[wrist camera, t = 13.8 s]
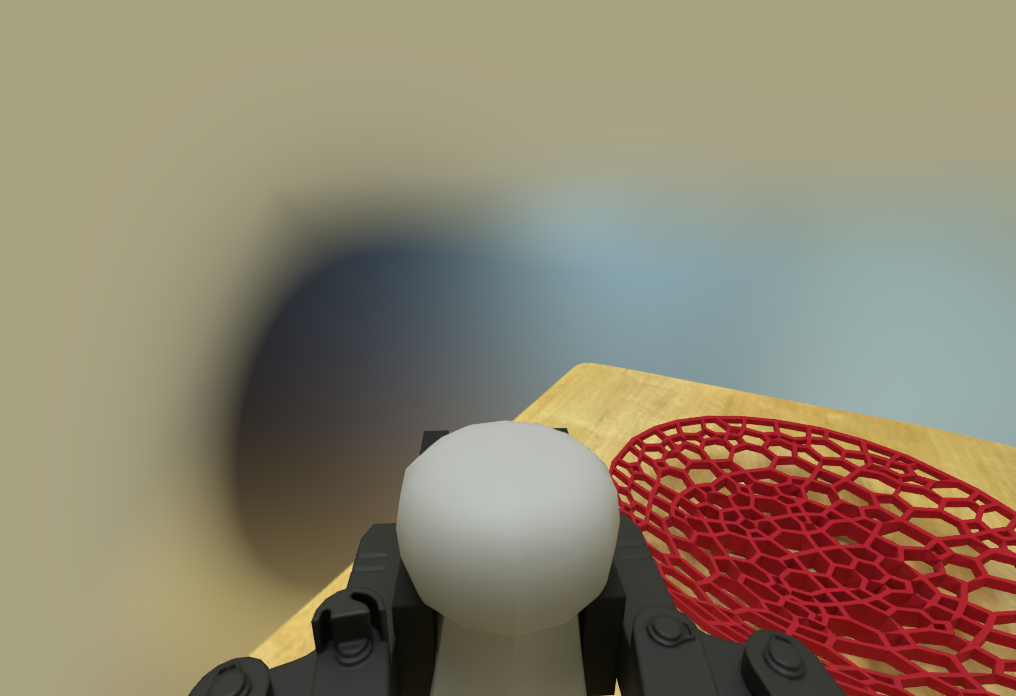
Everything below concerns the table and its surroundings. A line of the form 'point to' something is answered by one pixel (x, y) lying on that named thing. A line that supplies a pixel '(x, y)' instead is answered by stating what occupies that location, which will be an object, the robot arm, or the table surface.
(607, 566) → the salt shaker
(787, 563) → the bowl
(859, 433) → the table surface
